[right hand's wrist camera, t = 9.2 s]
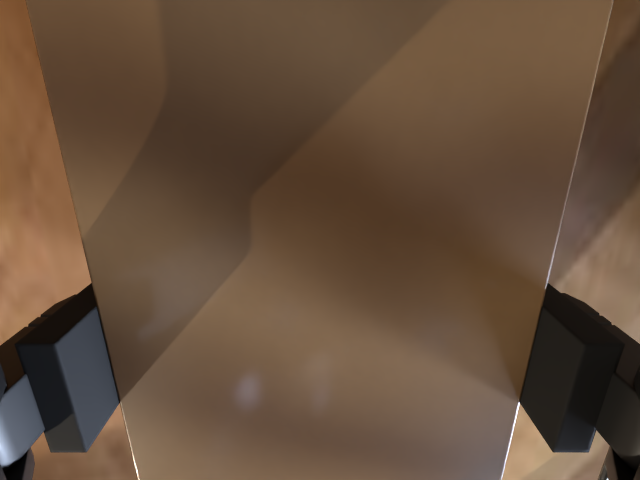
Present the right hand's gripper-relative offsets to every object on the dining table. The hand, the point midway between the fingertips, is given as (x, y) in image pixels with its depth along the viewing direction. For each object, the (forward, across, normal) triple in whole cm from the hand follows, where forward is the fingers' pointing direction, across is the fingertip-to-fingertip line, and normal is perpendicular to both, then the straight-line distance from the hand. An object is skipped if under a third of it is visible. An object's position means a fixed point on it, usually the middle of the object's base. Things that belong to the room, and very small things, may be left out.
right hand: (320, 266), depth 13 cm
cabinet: (+4, 0, -5) cm, 6 cm away
